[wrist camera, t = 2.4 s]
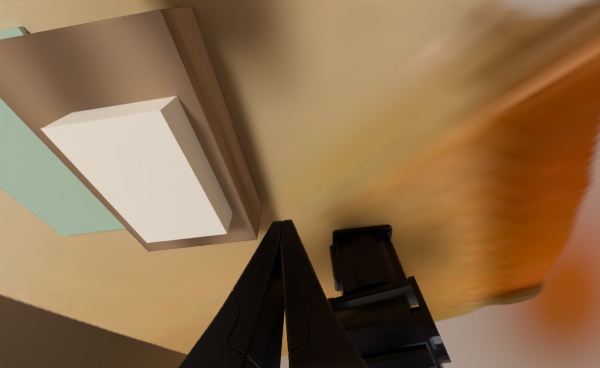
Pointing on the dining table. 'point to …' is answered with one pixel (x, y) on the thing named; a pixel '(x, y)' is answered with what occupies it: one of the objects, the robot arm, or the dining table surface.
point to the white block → (146, 167)
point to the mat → (46, 178)
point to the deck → (132, 95)
